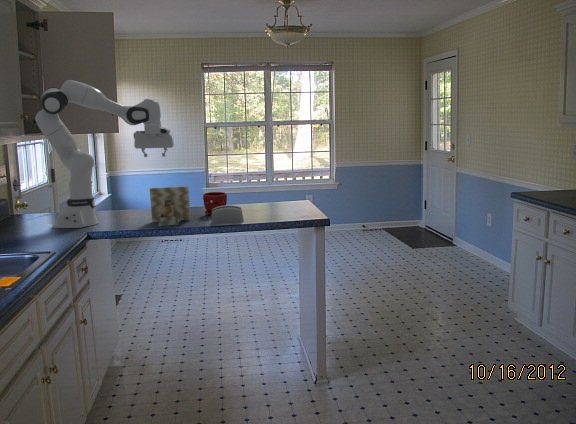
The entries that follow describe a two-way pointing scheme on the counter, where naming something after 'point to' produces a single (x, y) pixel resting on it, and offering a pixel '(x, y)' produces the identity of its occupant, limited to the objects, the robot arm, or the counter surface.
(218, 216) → the grey arched block
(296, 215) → the counter surface
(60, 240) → the counter surface
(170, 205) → the brown bottle
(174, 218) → the patterned box
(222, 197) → the plant pot
